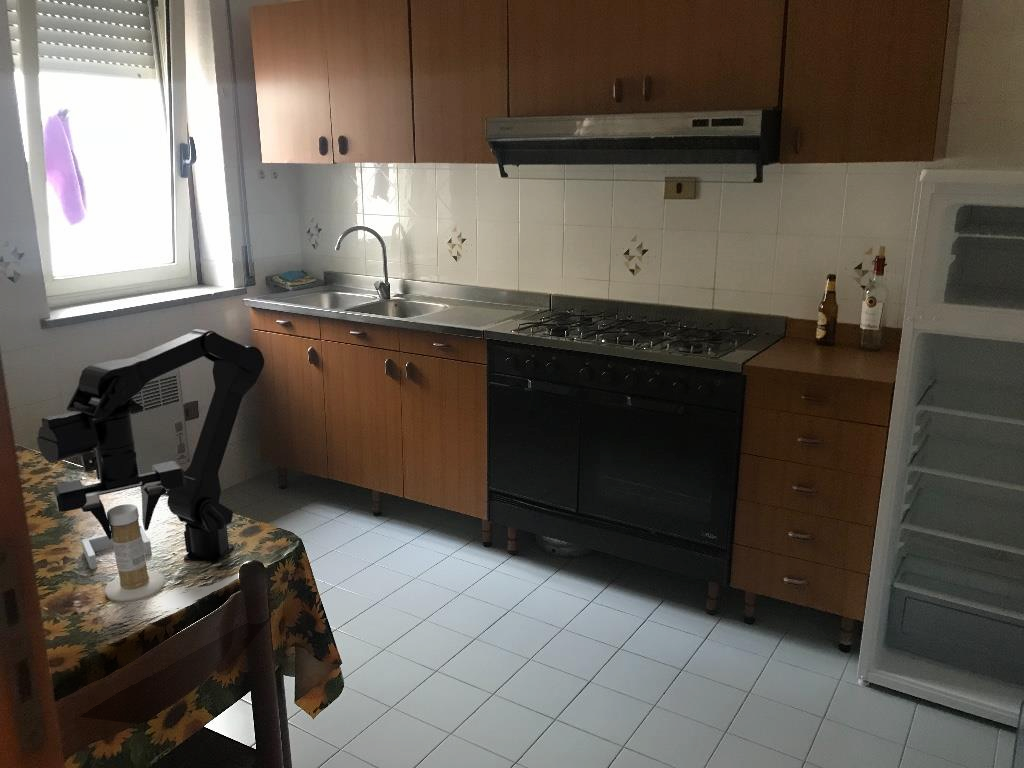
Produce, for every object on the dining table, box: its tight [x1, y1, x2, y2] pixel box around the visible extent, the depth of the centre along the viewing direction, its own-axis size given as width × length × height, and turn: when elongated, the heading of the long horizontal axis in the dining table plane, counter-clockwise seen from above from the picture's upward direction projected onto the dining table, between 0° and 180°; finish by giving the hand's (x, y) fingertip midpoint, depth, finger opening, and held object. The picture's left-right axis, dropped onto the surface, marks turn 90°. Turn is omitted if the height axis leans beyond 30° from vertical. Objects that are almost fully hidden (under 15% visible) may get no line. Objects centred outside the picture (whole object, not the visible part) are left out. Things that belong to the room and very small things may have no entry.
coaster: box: [104, 570, 166, 603], centre depth 137 cm, size 9×9×1 cm
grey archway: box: [81, 525, 153, 570], centre depth 149 cm, size 8×10×2 cm
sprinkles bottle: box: [106, 503, 149, 589], centre depth 135 cm, size 5×5×13 cm
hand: (128, 533), depth 135 cm, fingers open, 5 cm apart
